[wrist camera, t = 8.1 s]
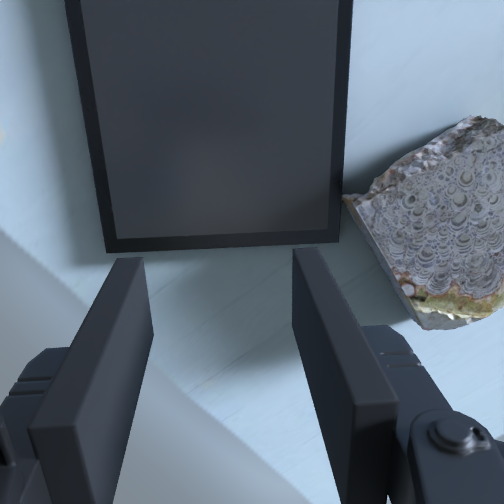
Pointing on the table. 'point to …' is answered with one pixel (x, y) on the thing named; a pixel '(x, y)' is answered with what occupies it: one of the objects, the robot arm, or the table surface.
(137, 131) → the tablet
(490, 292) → the geological specimen
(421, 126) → the table surface
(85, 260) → the table surface
